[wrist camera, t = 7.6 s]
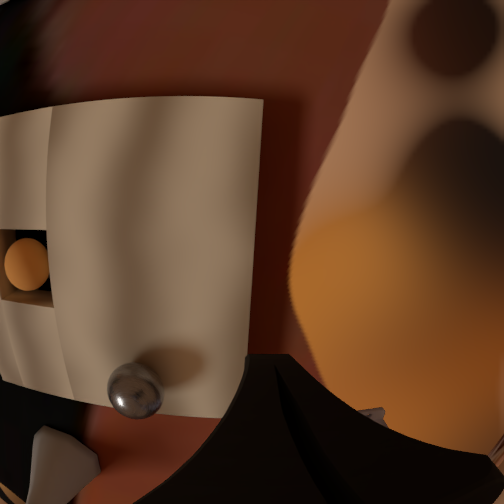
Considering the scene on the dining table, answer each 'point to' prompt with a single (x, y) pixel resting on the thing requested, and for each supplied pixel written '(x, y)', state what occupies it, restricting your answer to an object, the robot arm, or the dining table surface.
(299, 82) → the dining table surface
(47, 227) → the board
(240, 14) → the dining table surface
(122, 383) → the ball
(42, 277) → the ball
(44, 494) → the flask
